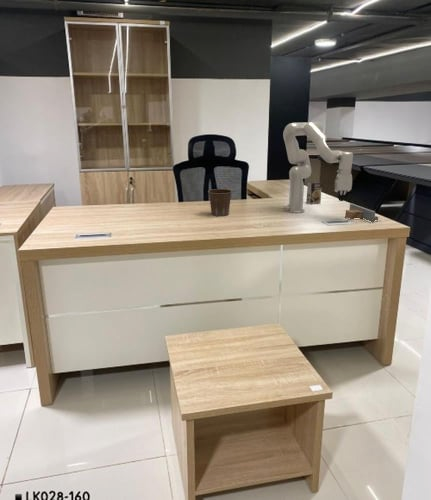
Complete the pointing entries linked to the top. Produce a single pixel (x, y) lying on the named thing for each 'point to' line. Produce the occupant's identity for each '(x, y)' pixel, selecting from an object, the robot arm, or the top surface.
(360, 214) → the walnut block
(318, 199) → the coffee box
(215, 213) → the plant pot
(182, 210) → the top surface
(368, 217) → the board
